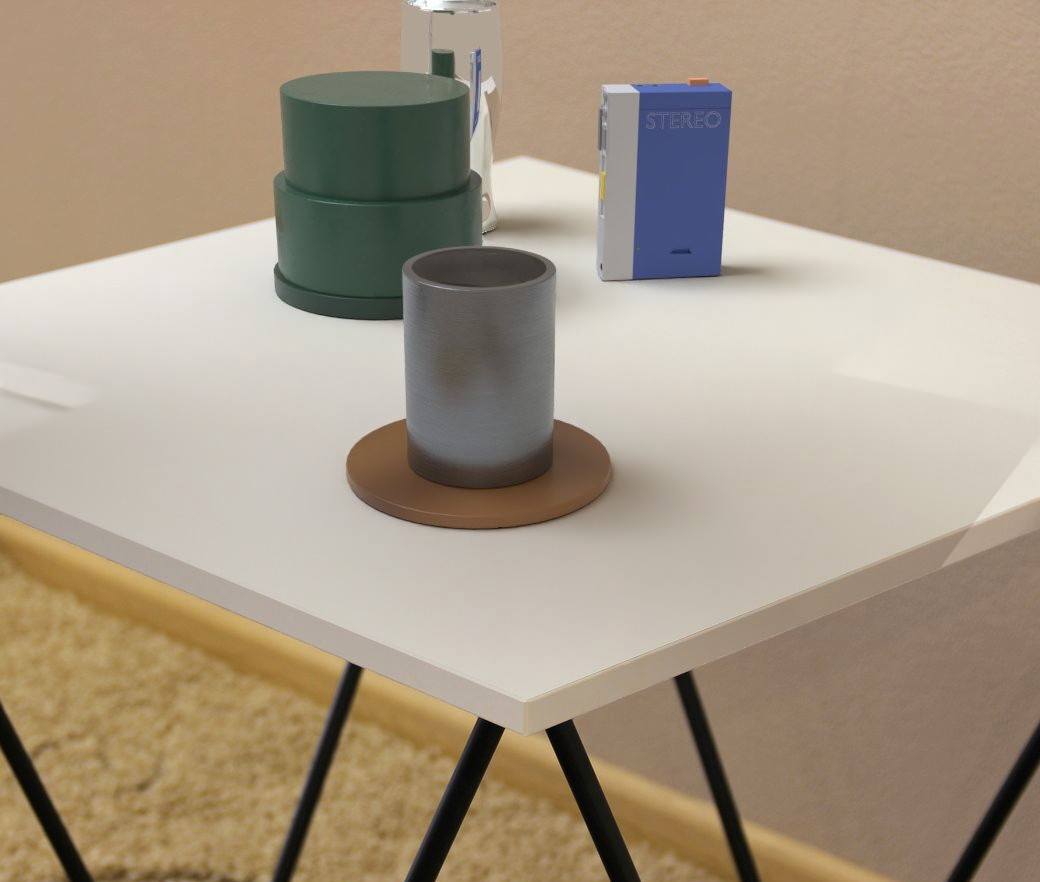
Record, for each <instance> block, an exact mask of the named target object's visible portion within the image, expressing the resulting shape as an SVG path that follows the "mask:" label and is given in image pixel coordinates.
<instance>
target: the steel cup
mask: <svg viewBox="0 0 1040 882" xmlns="http://www.w3.org/2000/svg"><path fill="white" fill-rule="evenodd" d="M402 284H403V318H402V320H403V347H404V348H403V351H404V353H403V354H404V384H405V385H404V387H405V388H404V389H405V390H404V391H405V417H406V426H407V460H408V464H409V465H410V467H411V469H412V470H413V471H414V472H415V473H417V474H418V475H420V476H421V477H423V478H425V479H427V480H430V481H432V482H436V483H439V484H443V485H447V486H453V487H460V488H473V489H488V488H500V487H507V486H512V485H517V484H521V483H524V482H527V481H530V480H532V479H535V478H537V477H539V476H540V475H542V474H543V473H545V472H546V471H547V470H548V469H549V468H550V466H551V464H552V461H553V432H554V419H555V367H556V366H555V365H556V308H557V307H556V305H557V304H556V303H557V268H556V265H555V264H554V262H552V261H551V260H550V258H549V259H548V258H547V257H546V256H543V255H541V254H538V253H535V252H532V251H528V250H523V249H519V248H518V249H517V248H513V247H506V246H505V247H504V246H495V245H494V246H493V245H482V246H460V247H450V248H442V249H437V250H432V251H428V252H424V253H421V254H418V255H416V256H414V257H412V258H410V259H408V260H407V261H406V262H405V263H404V265H403V267H402Z"/></svg>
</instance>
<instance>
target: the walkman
mask: <svg viewBox="0 0 1040 882" xmlns="http://www.w3.org/2000/svg"><path fill="white" fill-rule="evenodd" d="M686 81H687V82H686V83H628V84H627V83H625V84H623V83H617V84H616V83H615V84H601V92H600V93H601V94H600V97H601V99H600V106H599V107H598V116H597V117H598V118H597V119H598V120H597V121H598V122H597V150H598V151H599V164H598V165H599V167H598V168H599V169H598V198H597V199H598V201H597V203H598V204H597V233H596V234H597V235H596V236H597V237H596V240H597V241H596V270H597V275H598V276H599V278H600V279H601V281H624V280H625V281H627V280H645V279H647V280H648V279H667V278H670V279H671V278H689V277H711V276H721V272H722V258H723V257H722V256H723V243H724V242H723V240H724V229H725V228H724V225H725V213H726V211H725V210H726V196H727V195H726V194H727V179H728V165H729V148H730V134H731V133H730V131H731V120H732V119H731V116H732V103H733V101H732V100H733V91H732V90H731V89H729V88H728V87H726V86H725V85H723V84H722V83H720V82H709V79H708V78H707V77H688V78H687V80H686Z"/></svg>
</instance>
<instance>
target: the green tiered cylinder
mask: <svg viewBox="0 0 1040 882" xmlns="http://www.w3.org/2000/svg"><path fill="white" fill-rule="evenodd" d="M278 91H279V103H280V120H281V138H282V154H283V167H284V169H283V170H281V171H280V172H279V173H277V174H276V175H275V176H274V177H273V180H272V186H273V187H272V188H273V198H274V199H273V201H274V217H275V232H276V235H275V236H276V248H277V249H276V250H277V261H276V263H275V265H274V268H273V280H274V290H275V291H274V292H275V294H276V295H277V297H278V298H279V299H280V300H281V301H283V302H285V304H287V305H290V306H292V307H294V308H296V309H299V310H303V311H305V312H310V313H313V314H318V315H322V316H327V317H335V318H342V319H355V320H399V319H400V320H401V319H403V284H402V267H403V265H404V263H405V262H406V261H407V260H408V259H410V258H412V257H414V256H416V255H418V254H421V253H424V252H428V251H432V250H437V249H442V248H450V247H460V246H483V234H482V178H481V176H480V175H479V174H478V173H477V172H475V171H474V170H472V169H470V88H469V87H468V85H466V84H465V83H463V82H460V81H458V80H455V79H451V78H447V77H442V76H437V75H431V74H423V73H412V72H400V71H395V70H352V71H336V72H327V73H326V72H325V73H318V74H311V75H305V76H301V77H298V78H293V79H290V80H288V81H286V82H284V83H283V84H281V85H280V87H279V90H278Z"/></svg>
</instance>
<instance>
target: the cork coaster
mask: <svg viewBox="0 0 1040 882" xmlns="http://www.w3.org/2000/svg"><path fill="white" fill-rule="evenodd" d="M611 471H612V460H611V457H610V453H609V452H608V450H607V448H606V446H605V445H604V444H603V443H602V442H601V441H600V440H599V439H597V438H596V437H595V436H594V435H593V434H591V433H589V432H588V431H586V430H585V429H583V428H580V427H578V426H575V425H574V424H571V423H568V422H566V421H563V420H561V419H556V418H554V432H553V461H552V464H551V466H550V468H549V469H548V470H547V471H546V472H545V473H543V474H542V475H540V476H539V477H537V478H535V479H532V480H530V481H527V482H524V483H521V484H517V485H512V486H507V487H500V488H488V489H473V488H460V487H453V486H447V485H443V484H439V483H436V482H432V481H430V480H427V479H425V478H423V477H421V476H420V475H418V474H417V473H415V472H414V471H413V470H412V469H411V467H410V465H409V464H408V460H407V426H406V418H403V419H399V420H395V421H393V422H390V423H387V424H385V425H382V426H380V427H378V428H376V429H374V430H372V431H369V433H367V434H365V435H364V436H362V437H361V438H360V439H359V440H358V441H357V442H355V443H354V445H353V446H352V447H351V449H350V450H349V452H348V455H347V457H346V461H345V475H346V481H347V483H348V485H349V488H350V489H351V491H353V493H354V494H355V495H356V496H357V497H358V498H359V499H360V500H362V501H363V502H364V503H365V504H367V505H369V506H370V507H372V508H374V509H375V510H377V511H381V512H383V513H385V514H387V515H390V516H393V517H396V518H399V519H402V520H406V521H409V522H410V521H411V522H413V523H418V524H423V525H428V526H435V527H443V528H453V529H499V528H498V527H502V528H511V527H519V526H525V525H526V526H528V525H531V524H532V525H533V524H537V523H541V522H546V521H550V520H554V519H556V518H560V517H563V516H566V515H568V514H571V513H574V512H576V511H577V510H579V509H581V508H584V507H586V506H587V505H589V504H590V503H591V502H593V501H594V500H596V499H597V498H598V497H599V496H600V495H601V494H602V493H603V492H604V490H605V489H606V488H607V487H608V484H609V482H610V480H611Z"/></svg>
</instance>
